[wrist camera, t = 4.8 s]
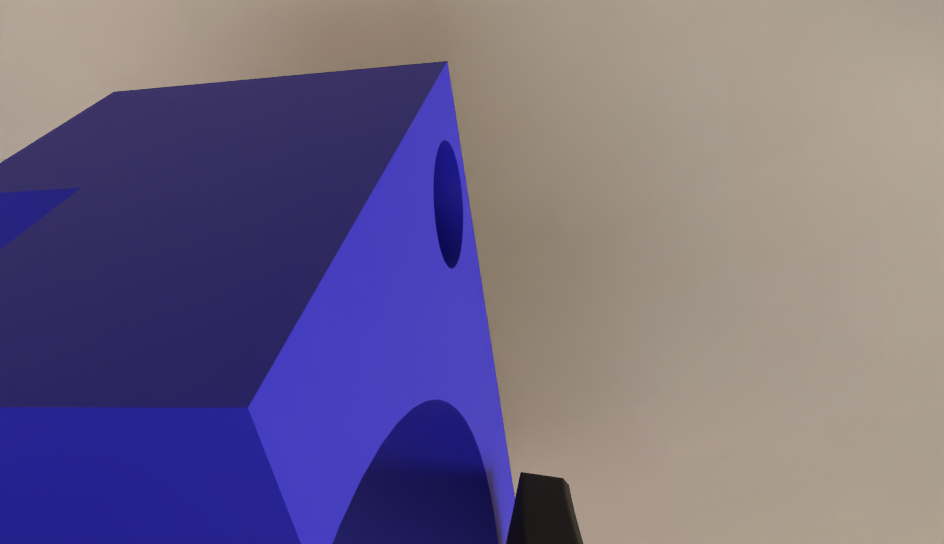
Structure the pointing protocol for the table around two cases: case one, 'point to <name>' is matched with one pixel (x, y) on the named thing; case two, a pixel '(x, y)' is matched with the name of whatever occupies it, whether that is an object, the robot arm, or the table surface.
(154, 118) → the blue bracket
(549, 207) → the table surface
